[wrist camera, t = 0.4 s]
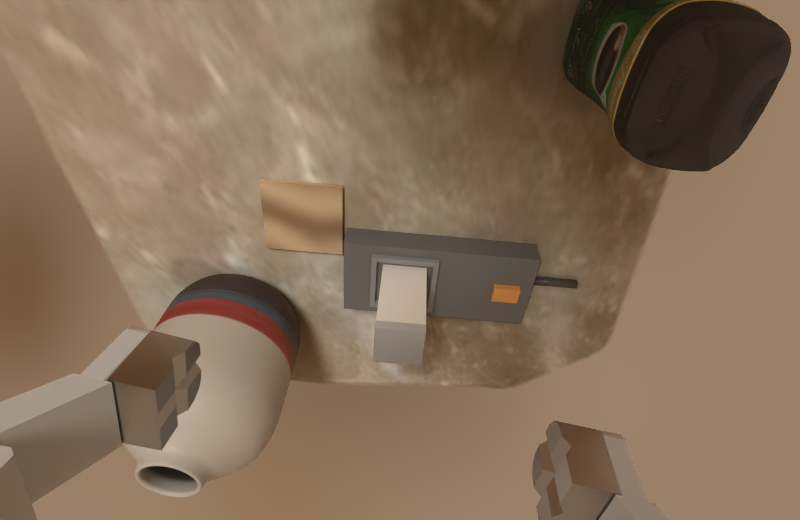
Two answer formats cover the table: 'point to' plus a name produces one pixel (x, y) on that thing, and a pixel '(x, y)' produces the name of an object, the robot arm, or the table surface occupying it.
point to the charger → (401, 315)
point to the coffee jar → (677, 74)
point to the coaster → (302, 216)
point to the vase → (224, 381)
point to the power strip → (447, 273)
